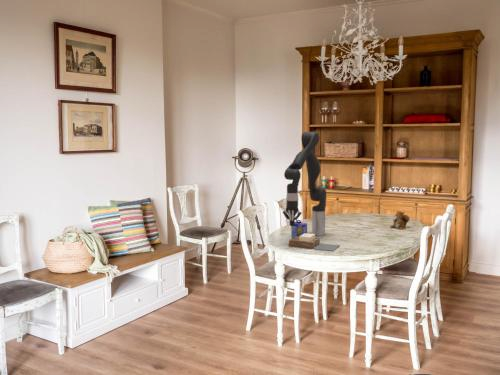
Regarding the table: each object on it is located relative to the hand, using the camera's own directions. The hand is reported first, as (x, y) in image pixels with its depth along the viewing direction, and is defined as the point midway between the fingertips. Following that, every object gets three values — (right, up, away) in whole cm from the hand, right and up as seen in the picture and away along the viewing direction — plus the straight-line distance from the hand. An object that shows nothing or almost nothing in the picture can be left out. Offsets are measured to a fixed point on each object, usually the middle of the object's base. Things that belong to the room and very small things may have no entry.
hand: (292, 225), depth 322 cm
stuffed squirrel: (+86, -6, +51) cm, 100 cm away
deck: (+8, -13, -2) cm, 15 cm away
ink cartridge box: (+6, -11, +12) cm, 17 cm away
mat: (+21, -13, -9) cm, 26 cm away
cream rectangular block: (+9, -7, -4) cm, 12 cm away
